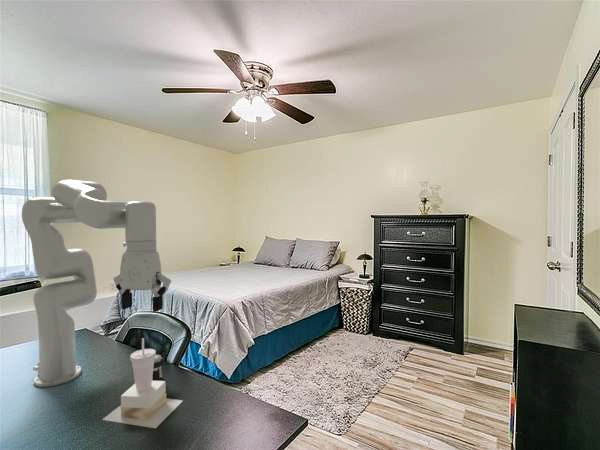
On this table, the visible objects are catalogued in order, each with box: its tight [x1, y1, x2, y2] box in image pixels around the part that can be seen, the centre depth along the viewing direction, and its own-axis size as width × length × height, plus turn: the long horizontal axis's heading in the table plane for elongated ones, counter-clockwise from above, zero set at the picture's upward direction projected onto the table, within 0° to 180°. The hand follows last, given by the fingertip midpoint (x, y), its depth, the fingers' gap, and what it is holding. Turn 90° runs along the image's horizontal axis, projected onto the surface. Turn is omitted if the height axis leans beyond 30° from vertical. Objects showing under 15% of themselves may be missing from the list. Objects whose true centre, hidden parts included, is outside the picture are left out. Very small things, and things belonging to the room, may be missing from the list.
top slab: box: [120, 380, 167, 408], centre depth 86 cm, size 8×8×3 cm
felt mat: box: [101, 397, 183, 429], centre depth 86 cm, size 16×12×1 cm
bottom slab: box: [121, 391, 167, 421], centre depth 86 cm, size 8×8×3 cm
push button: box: [152, 354, 166, 382], centre depth 97 cm, size 7×5×10 cm
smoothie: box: [129, 337, 157, 392], centre depth 86 cm, size 6×6×14 cm
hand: (142, 309), depth 86 cm, fingers open, 9 cm apart
